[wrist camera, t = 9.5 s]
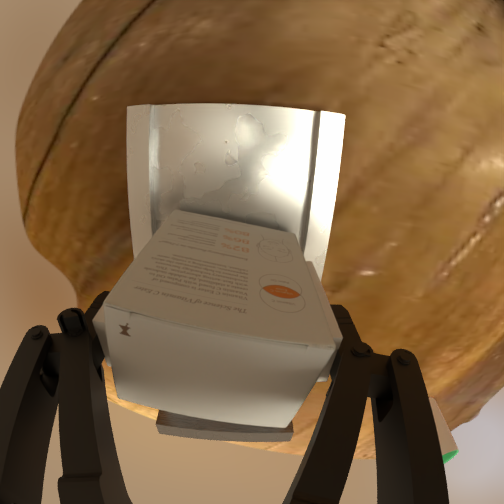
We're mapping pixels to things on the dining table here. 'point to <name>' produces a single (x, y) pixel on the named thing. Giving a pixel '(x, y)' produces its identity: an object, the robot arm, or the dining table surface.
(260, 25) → the dining table surface
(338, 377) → the robot arm
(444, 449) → the mug
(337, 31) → the dining table surface
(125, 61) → the dining table surface
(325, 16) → the dining table surface
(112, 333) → the small box
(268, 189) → the tray
